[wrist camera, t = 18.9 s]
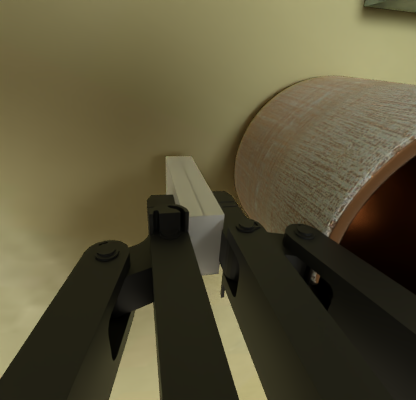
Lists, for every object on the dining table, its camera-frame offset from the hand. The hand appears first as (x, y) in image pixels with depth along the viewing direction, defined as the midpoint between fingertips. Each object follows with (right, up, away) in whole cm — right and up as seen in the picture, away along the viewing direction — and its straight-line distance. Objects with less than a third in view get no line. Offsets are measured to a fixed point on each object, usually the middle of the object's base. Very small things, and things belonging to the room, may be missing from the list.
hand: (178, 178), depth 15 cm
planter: (+8, +2, +3) cm, 9 cm away
